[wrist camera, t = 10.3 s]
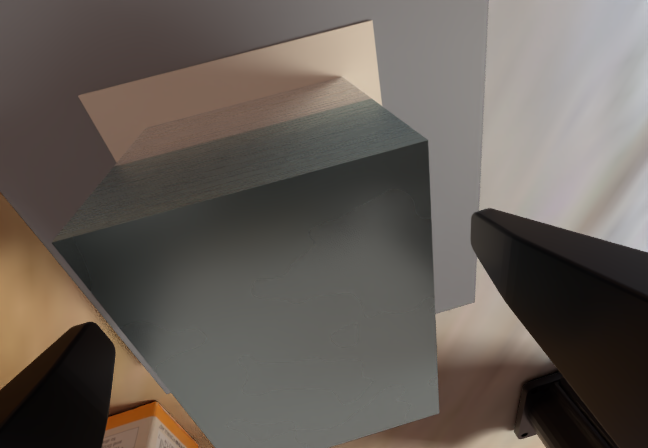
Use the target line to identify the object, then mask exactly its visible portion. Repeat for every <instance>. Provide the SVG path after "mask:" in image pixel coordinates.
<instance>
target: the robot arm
mask: <svg viewBox="0 0 648 448" xmlns="http://www.w3.org/2000/svg"><path fill="white" fill-rule="evenodd" d="M470 241H471V246H472V248H473V250H474V252H475V254H476V255H477V257H478V259H479V260H480V262H481V263H482V265H483V267H484V268H485V270H486V272H487V273H488V275H489V277H490V278H491V280H492V281H493V283H494V285H495V286H496V288H497V290H498V291H499V293H500V294H501V296H502V297H503V299H504V300H505V302H506V303H507V304H508V306H509V307H510V309H511V310H512V311H513V312H514V314H515V315H516V316H517V318H518V319H519V320H520V321H521V323H522V324H523V325H524V326H525V328H526V329H527V330H528V332H529V333H530V334H531V335H532V337H533V338H534V339H535V341H536V342H537V343H538V344H539V346H540V347H541V348H542V350H543V351H544V352H545V353H546V355H547V356H548V357H549V359H550V360H551V361H552V362H553V364H554V365H555V366H556V368H557V369H558V370H559V371H560V372H558V373H555V374H552V375H549V376H545V377H542V378H539V379H536V380H533V381H530V382H528V383H526V384H525V385H524V386H523V388H522V393H521V398H520V404H519V409H518V414H517V419H516V424H515V430H514V433H515V434H516V436H517V437H518V438H519V439H523V438H527V437H530V436H533V435H536V434H537V435H538V437H539V438H540V439H541V441H542V442H543V444H544V445H545V447H546V448H648V253H647V252H644V251H640V250H637V249H633V248H630V247H626V246H623V245H619V244H616V243H612V242H608V241H605V240H601V239H598V238H594V237H591V236H587V235H584V234H580V233H577V232H573V231H570V230H566V229H562V228H559V227H555V226H552V225H548V224H545V223H541V222H538V221H534V220H531V219H527V218H523V217H520V216H516V215H513V214H509V213H506V212H502V211H499V210H495V209H491V208H488V209H484V210H481V211H477V212H474V213H473V214H472V217H471V236H470ZM115 353H116V352H115V347H114V345H113V343H112V341H111V340H110V339H109V338H108V337H107V336H106V334H105V333H104V332H103V331H102V330H101V329H100V327H99V326H98V325H97V324H96V323H94V322H87V323H83V324H80V325H76V326H74V327H72V328H70V329H69V330H68V331H67V332H66V333H64V334H63V335H62V336H61V337H60V338H59V339H58V340H56V341H55V342H54V343H53V344H52V345H51V346H50V347H49V348H47V349H46V350H45V351H44V352H43V353H42V354H41V355H40V356H38V357H37V358H36V359H35V360H34V361H33V362H32V363H30V364H29V365H28V366H27V367H26V368H25V369H24V370H23V371H21V372H20V373H19V374H18V375H17V376H16V377H15V378H14V379H12V380H11V381H10V382H9V383H8V384H7V385H6V386H4V387H3V388H2V389H1V390H0V448H102V444H103V439H104V435H105V430H106V425H107V420H108V414H109V407H110V398H111V389H112V381H113V372H114V363H115Z"/></svg>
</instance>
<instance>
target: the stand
mask: <svg viewBox="0 0 648 448" xmlns="http://www.w3.org/2000/svg"><path fill="white" fill-rule="evenodd" d="M488 4H489V0H0V192H1V193H2V195H3V196H4V197H5V198H6V199H7V201H8V202H9V203H10V204H11V205H12V207H13V208H14V209H15V210H16V212H17V213H18V214H19V215H20V216H21V218H22V219H23V220H24V221H25V222H26V224H27V225H28V226H29V227H30V229H31V230H32V231H33V232H34V233H35V235H36V236H37V237H38V238H39V240H40V241H41V242H42V243H43V244H44V246H45V247H46V248H47V249H48V250H49V252H50V253H51V254H52V255H53V257H54V258H55V259H56V260H57V261H58V263H59V264H60V265H61V266H62V267H63V269H64V270H65V271H66V272H67V274H68V275H69V276H70V277H71V278H72V280H73V281H74V282H75V283H76V285H77V286H78V287H79V288H80V289H81V291H82V292H83V293H84V294H85V295H86V297H87V298H88V299H89V300H90V302H91V303H92V304H93V305H94V306H95V308H96V309H97V310H98V311H99V312H100V314H101V315H102V316H103V317H104V319H105V320H106V321H107V322H108V323H109V325H110V326H111V327H112V328H113V330H114V331H115V332H116V333H117V334H118V336H119V337H120V338H121V339H122V340H123V342H124V343H125V344H126V345H127V347H128V348H129V349H130V350H131V351H132V353H133V354H134V355H135V356H136V357H137V359H138V360H139V361H140V362H141V364H142V365H143V366H144V367H145V368H146V370H147V371H148V372H149V373H150V374H151V376H152V377H153V378H154V379H155V381H156V382H157V383H158V384H159V385H160V387H161V388H162V389H163V390H164V392H165V393H166V394H169V393H171V392H170V391H169V389H168V388H167V387H166V386H165V384H164V383H163V382H162V381H161V379H160V378H159V377H158V376H157V374H156V373H155V372H154V371H153V369H152V368H151V367H150V366H149V364H148V363H147V362H146V361H145V359H144V358H143V357H142V356H141V354H140V353H139V352H138V351H137V349H136V348H135V347H134V346H133V344H132V343H131V342H130V341H129V339H128V338H127V337H126V336H125V334H124V333H123V332H122V331H121V329H120V328H119V327H118V326H117V324H116V323H115V322H114V321H113V319H112V318H111V317H110V316H109V314H108V313H107V312H106V311H105V309H104V308H103V307H102V306H101V304H100V303H99V302H98V301H97V299H96V298H95V297H94V296H93V294H92V293H91V292H90V291H89V289H88V288H87V287H86V286H85V284H84V283H83V282H82V281H81V279H80V278H79V277H78V276H77V274H76V273H75V272H74V271H73V269H72V268H71V267H70V266H69V264H68V263H67V262H66V261H65V259H64V258H63V257H62V256H61V254H60V253H59V252H58V251H57V249H56V248H55V247H54V246H53V244H52V243H51V242H52V241H53V240H54V239H55V237H56V236H57V235H58V234H59V233H60V231H61V230H62V229H63V228H64V226H65V225H66V224H67V223H68V222H69V220H70V219H71V218H72V217H73V216H74V214H75V213H76V212H77V211H78V209H79V208H80V207H81V206H82V205H83V203H84V202H85V201H86V200H87V199H88V197H89V196H90V195H91V194H92V192H93V191H94V190H95V189H96V188H97V186H98V185H99V184H100V183H101V182H102V180H103V179H104V178H105V177H106V175H107V174H108V173H109V172H110V171H111V169H112V168H113V167H114V166H115V165H116V163H117V162H118V161H119V160H120V158H121V157H122V156H123V155H124V154H125V152H126V151H127V150H128V149H129V147H130V146H131V145H132V144H133V143H134V141H135V140H136V139H137V138H138V137H139V135H140V134H141V133H142V132H143V130H144V129H145V128H146V127H150V126H154V125H158V124H162V123H166V122H169V121H173V120H177V119H181V118H185V117H189V116H192V115H196V114H200V113H204V112H208V111H212V110H216V109H219V108H223V107H227V106H231V105H235V104H239V103H242V102H246V101H250V100H254V99H258V98H262V97H266V96H269V95H273V94H277V93H281V92H285V91H289V90H292V89H296V88H300V87H304V86H308V85H312V84H315V83H319V82H323V81H327V80H331V79H335V78H339V77H343V78H345V79H346V80H347V81H349V82H350V83H351V84H353V85H354V86H356V87H357V88H358V89H360V90H361V91H362V92H364V93H365V94H366V95H368V96H369V97H370V98H372V99H373V100H375V101H376V102H377V103H379V104H380V105H381V106H383V107H384V108H385V109H387V110H388V111H389V112H391V113H392V114H393V115H395V116H396V117H398V118H399V119H400V120H402V121H403V122H404V123H406V124H407V125H408V126H410V127H411V128H412V129H414V130H415V131H417V132H418V133H419V134H421V135H422V136H423V137H425V138H426V139H427V140H428V147H429V172H430V196H431V221H432V246H433V271H434V295H435V314H437V313H440V312H444V311H447V310H450V309H454V308H457V307H460V306H464V305H467V304H470V303H474V302H475V285H476V263H477V255H476V254H475V252H474V250H473V248H472V246H471V241H470V236H471V217H472V214H473V213H474V212H477V211H479V199H480V177H481V155H482V134H483V112H484V91H485V69H486V47H487V26H488Z"/></svg>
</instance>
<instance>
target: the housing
mask: <svg viewBox="0 0 648 448" xmlns="http://www.w3.org/2000/svg"><path fill="white" fill-rule="evenodd" d="M51 243H52V244H53V246H54V247H55V248H56V249H57V251H58V252H59V253H60V254H61V256H62V257H63V258H64V259H65V261H66V262H67V263H68V264H69V266H70V267H71V268H72V269H73V271H74V272H75V273H76V274H77V276H78V277H79V278H80V279H81V281H82V282H83V283H84V284H85V286H86V287H87V288H88V289H89V291H90V292H91V293H92V294H93V296H94V297H95V298H96V299H97V301H98V302H99V303H100V304H101V306H102V307H103V308H104V309H105V311H106V312H107V313H108V314H109V316H110V317H111V318H112V319H113V321H114V322H115V323H116V324H117V326H118V327H119V328H120V329H121V331H122V332H123V333H124V334H125V336H126V337H127V338H128V339H129V341H130V342H131V343H132V344H133V346H134V347H135V348H136V349H137V351H138V352H139V353H140V354H141V356H142V357H143V358H144V359H145V361H146V362H147V363H148V364H149V366H150V367H151V368H152V369H153V371H154V372H155V373H156V374H157V376H158V377H159V378H160V379H161V381H162V382H163V383H164V384H165V386H166V387H167V388H168V389H169V391H170V392H171V393H172V394H173V396H174V397H175V398H176V399H177V401H178V402H179V403H180V404H181V406H182V407H183V408H184V409H185V411H186V412H187V413H188V414H189V416H190V417H191V418H192V419H193V421H194V422H195V423H196V424H197V426H198V427H199V428H200V429H201V431H202V432H203V433H204V434H205V436H206V437H207V438H208V439H209V441H210V442H211V443H212V444H213V446H214V447H215V448H329V447H332V446H336V445H339V444H342V443H345V442H349V441H352V440H355V439H358V438H361V437H365V436H368V435H371V434H374V433H378V432H381V431H384V430H387V429H390V428H394V427H397V426H400V425H403V424H407V423H410V422H413V421H416V420H419V419H423V418H426V417H429V416H432V415H435V414H439V394H438V369H437V345H436V320H435V295H434V271H433V246H432V221H431V196H430V172H429V147H428V140H427V139H426V138H425V137H423V136H422V135H421V134H419V133H418V132H417V131H415V130H414V129H412V128H411V127H410V126H408V125H407V124H406V123H404V122H403V121H402V120H400V119H399V118H398V117H396V116H395V115H393V114H392V113H391V112H389V111H388V110H387V109H385V108H384V107H383V106H381V105H380V104H379V103H377V102H376V101H375V100H373V99H372V98H370V97H369V96H368V95H366V94H365V93H364V92H362V91H361V90H360V89H358V88H357V87H356V86H354V85H353V84H351V83H350V82H349V81H347V80H346V79H345V78H343V77H339V78H335V79H331V80H327V81H323V82H319V83H315V84H312V85H308V86H304V87H300V88H296V89H292V90H289V91H285V92H281V93H277V94H273V95H269V96H266V97H262V98H258V99H254V100H250V101H246V102H242V103H239V104H235V105H231V106H227V107H223V108H219V109H216V110H212V111H208V112H204V113H200V114H196V115H192V116H189V117H185V118H181V119H177V120H173V121H169V122H166V123H162V124H158V125H154V126H150V127H146V128H145V129H144V130H143V132H142V133H141V134H140V135H139V137H138V138H137V139H136V140H135V141H134V143H133V144H132V145H131V146H130V147H129V149H128V150H127V151H126V152H125V154H124V155H123V156H122V157H121V158H120V160H119V161H118V162H117V163H116V165H115V166H114V167H113V168H112V169H111V171H110V172H109V173H108V174H107V175H106V177H105V178H104V179H103V180H102V182H101V183H100V184H99V185H98V186H97V188H96V189H95V190H94V191H93V192H92V194H91V195H90V196H89V197H88V199H87V200H86V201H85V202H84V203H83V205H82V206H81V207H80V208H79V209H78V211H77V212H76V213H75V214H74V216H73V217H72V218H71V219H70V220H69V222H68V223H67V224H66V225H65V226H64V228H63V229H62V230H61V231H60V233H59V234H58V235H57V236H56V237H55V239H54V240H53V241H52V242H51Z"/></svg>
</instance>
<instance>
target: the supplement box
mask: <svg viewBox="0 0 648 448" xmlns="http://www.w3.org/2000/svg"><path fill="white" fill-rule="evenodd" d="M102 448H198V444H197V443H196V441H195V440H194V439H192V438H191V437H190V435H189V434H188V433H187V432H186V431H185V430H184V429H183V428H182V427H181V426H180V425H179V424H178V423H177V422H176V421H175V419H174V418H173V417H172V416H171V415H170V414H169V413H168V412H167V411H166V410H165V409H164V408H163V407H162V406H161V405H160V404H159V403H158V402H152V403H150V404H146V405H143V406H140V407H138V408H135V409H132V410H128V411H126V412H123V413H120V414H116V415H113V416H110V417H108V420H107V425H106V430H105V435H104V439H103V444H102Z"/></svg>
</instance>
